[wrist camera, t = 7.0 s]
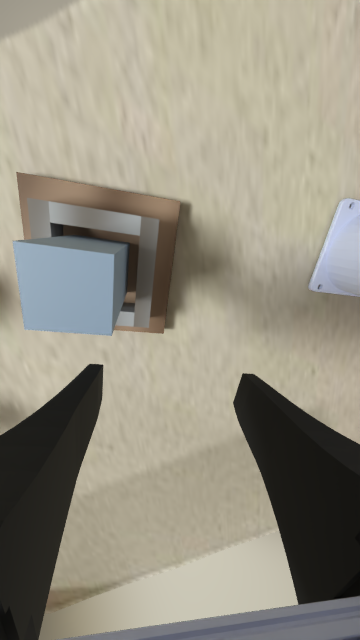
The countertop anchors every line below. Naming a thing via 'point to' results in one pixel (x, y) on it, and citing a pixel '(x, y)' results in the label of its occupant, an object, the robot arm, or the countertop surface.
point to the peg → (72, 283)
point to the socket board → (111, 236)
